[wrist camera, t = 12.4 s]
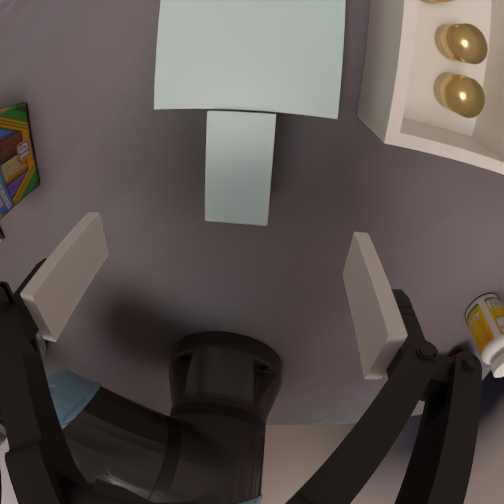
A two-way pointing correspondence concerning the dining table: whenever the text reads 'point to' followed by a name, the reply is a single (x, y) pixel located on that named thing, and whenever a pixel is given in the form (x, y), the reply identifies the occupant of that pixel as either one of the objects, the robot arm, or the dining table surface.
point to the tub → (432, 80)
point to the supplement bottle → (488, 330)
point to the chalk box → (15, 158)
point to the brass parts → (463, 50)
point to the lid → (247, 85)
